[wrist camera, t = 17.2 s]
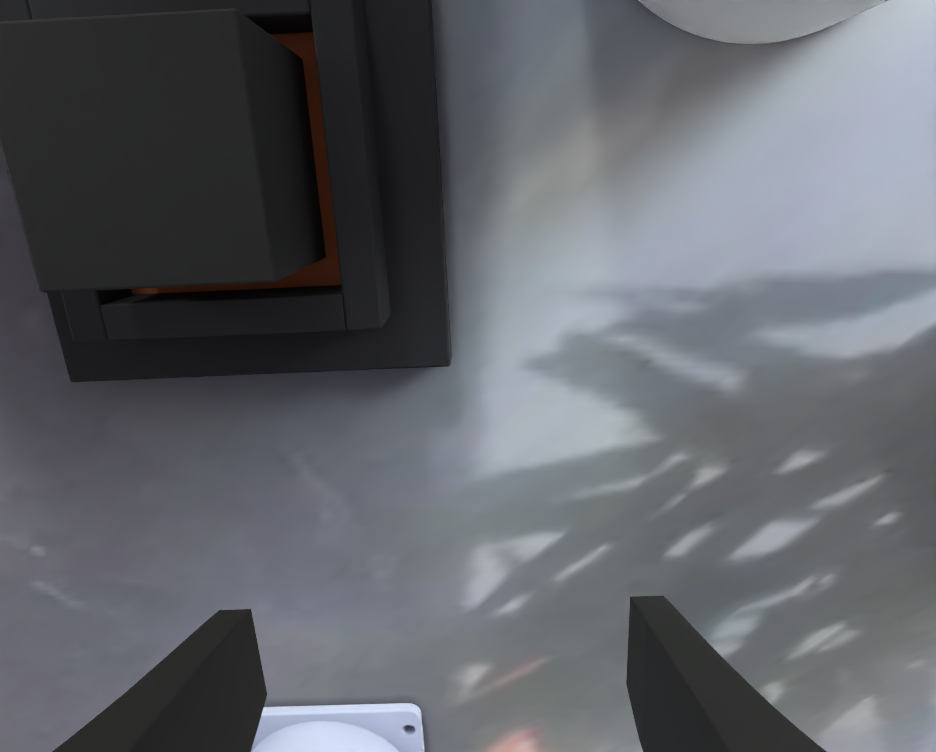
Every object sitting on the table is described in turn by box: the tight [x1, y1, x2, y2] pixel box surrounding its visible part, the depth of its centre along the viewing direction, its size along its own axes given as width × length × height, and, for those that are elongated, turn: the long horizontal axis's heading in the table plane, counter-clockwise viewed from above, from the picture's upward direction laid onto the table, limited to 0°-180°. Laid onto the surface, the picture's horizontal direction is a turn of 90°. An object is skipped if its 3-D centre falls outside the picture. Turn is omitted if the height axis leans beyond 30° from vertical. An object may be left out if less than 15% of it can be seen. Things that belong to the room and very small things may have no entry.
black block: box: [0, 8, 326, 293], centre depth 14 cm, size 5×5×5 cm
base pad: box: [0, 0, 451, 382], centre depth 16 cm, size 12×12×3 cm
